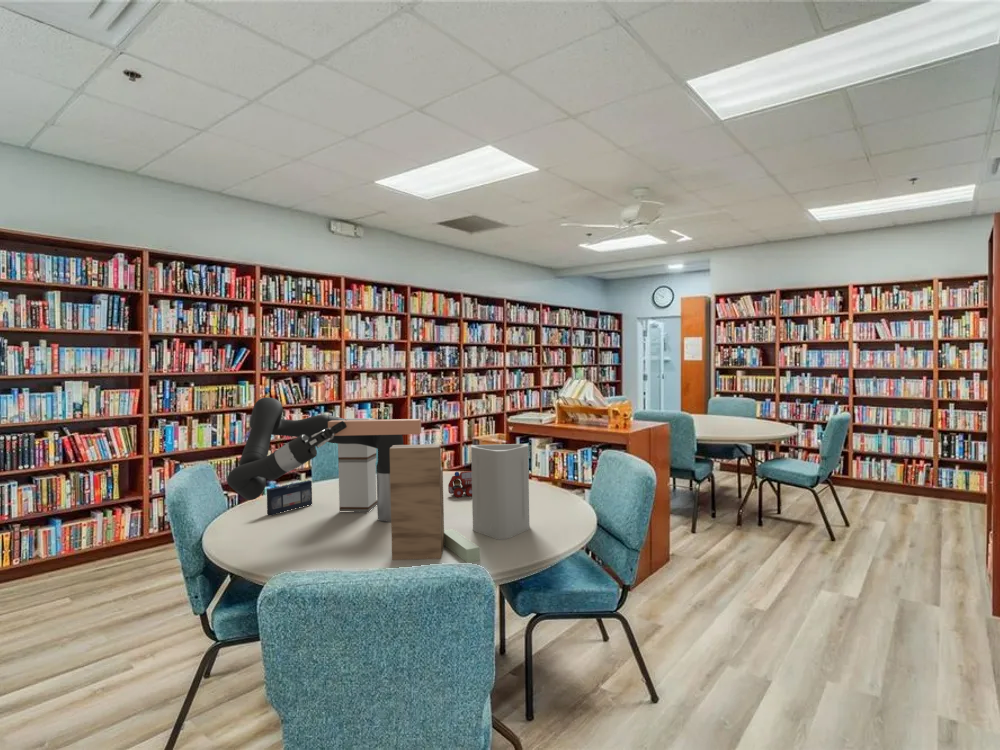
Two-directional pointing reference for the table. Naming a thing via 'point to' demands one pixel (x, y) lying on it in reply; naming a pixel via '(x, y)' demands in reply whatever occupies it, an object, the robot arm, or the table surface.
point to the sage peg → (461, 546)
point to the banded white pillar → (357, 476)
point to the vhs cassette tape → (289, 497)
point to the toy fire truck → (465, 482)
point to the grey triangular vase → (500, 489)
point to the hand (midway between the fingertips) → (346, 423)
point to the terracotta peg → (378, 427)
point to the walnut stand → (416, 502)
